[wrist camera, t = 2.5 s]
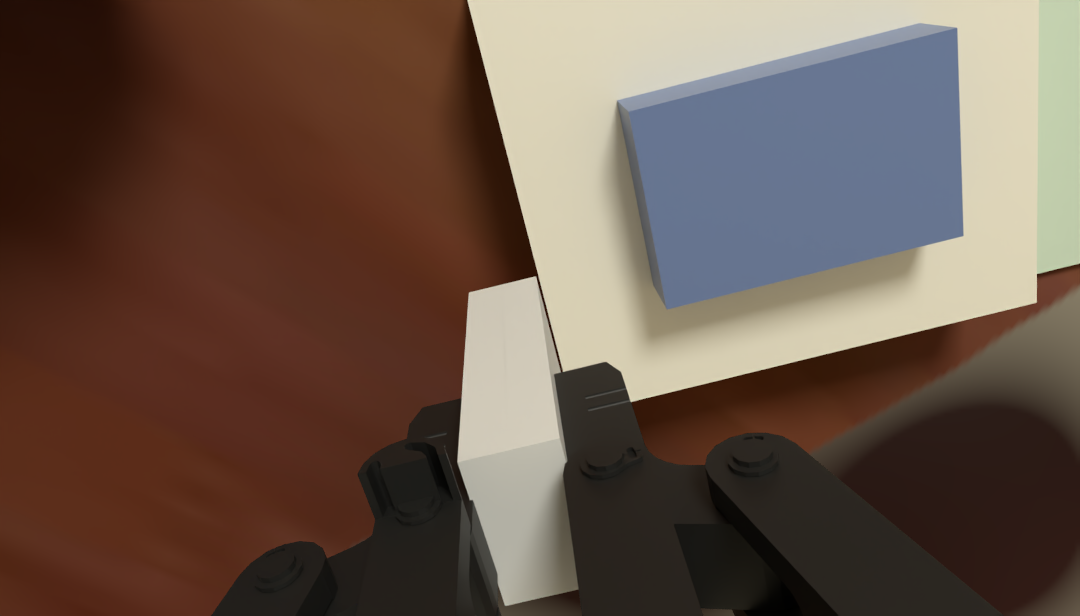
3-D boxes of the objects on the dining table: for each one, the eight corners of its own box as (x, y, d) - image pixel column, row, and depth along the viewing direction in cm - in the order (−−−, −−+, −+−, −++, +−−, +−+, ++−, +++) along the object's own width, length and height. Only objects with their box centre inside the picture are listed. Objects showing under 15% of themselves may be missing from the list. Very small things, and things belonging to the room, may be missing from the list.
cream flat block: (563, 363, 31) (574, 415, 28) (466, -16, 26) (464, -13, 22) (970, 262, 31) (1036, 302, 27) (959, -144, 25) (1040, -163, 22)
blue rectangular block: (653, 285, 26) (666, 309, 24) (617, 100, 24) (628, 111, 22) (929, 216, 26) (963, 235, 24) (919, 22, 23) (957, 28, 22)
